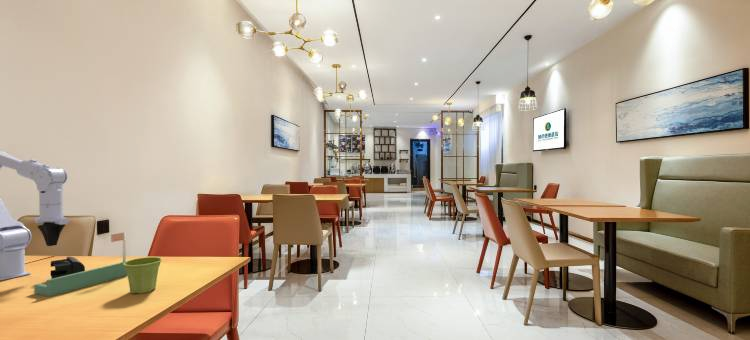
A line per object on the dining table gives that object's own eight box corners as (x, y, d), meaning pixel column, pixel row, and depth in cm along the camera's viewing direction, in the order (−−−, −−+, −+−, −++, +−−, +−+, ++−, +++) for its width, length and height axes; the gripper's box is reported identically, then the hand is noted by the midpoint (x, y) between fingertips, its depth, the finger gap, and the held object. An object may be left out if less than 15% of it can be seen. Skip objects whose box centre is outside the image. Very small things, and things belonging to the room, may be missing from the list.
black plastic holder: (85, 280, 113) (85, 259, 113) (55, 286, 107) (55, 264, 107) (78, 274, 119) (78, 254, 119) (50, 279, 114) (50, 258, 114)
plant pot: (166, 290, 103) (166, 260, 103) (127, 298, 96) (127, 267, 96) (156, 283, 109) (156, 255, 109) (119, 291, 102) (119, 261, 102)
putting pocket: (34, 293, 101) (34, 242, 101) (116, 272, 122) (116, 230, 122) (49, 296, 98) (49, 244, 98) (130, 274, 119) (130, 231, 119)
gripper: (23, 205, 116) (23, 246, 115) (49, 205, 110) (50, 249, 110) (49, 203, 122) (50, 242, 122) (75, 203, 117) (76, 244, 117)
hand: (51, 245), depth 117 cm, fingers closed
